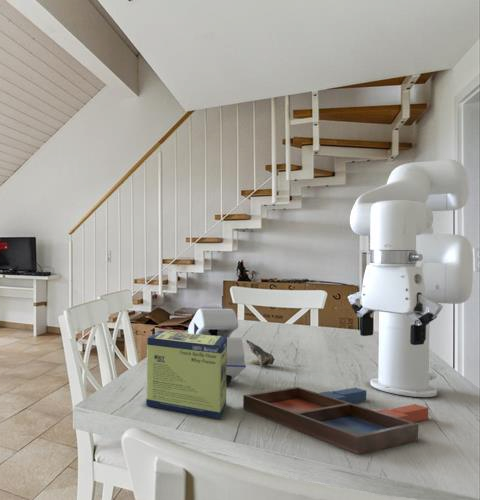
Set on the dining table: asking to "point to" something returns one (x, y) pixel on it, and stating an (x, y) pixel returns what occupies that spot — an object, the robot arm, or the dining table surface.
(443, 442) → the dining table surface
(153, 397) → the protein box
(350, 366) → the dining table surface
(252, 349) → the shark head
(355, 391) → the blue tall stepped post
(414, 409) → the orange stepped bar
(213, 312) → the robotic device
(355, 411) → the cutlery tray
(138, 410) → the dining table surface
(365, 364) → the dining table surface
